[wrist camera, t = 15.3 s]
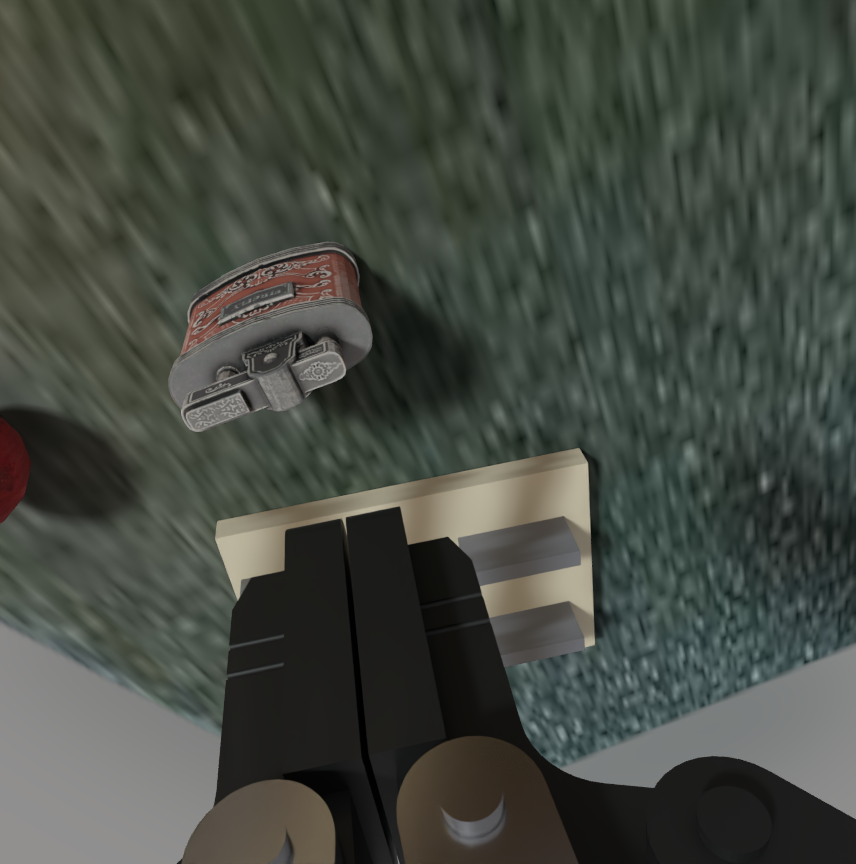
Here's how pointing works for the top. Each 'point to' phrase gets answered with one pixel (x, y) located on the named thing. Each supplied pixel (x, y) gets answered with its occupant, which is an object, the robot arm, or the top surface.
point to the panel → (471, 543)
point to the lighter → (270, 335)
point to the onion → (12, 469)
